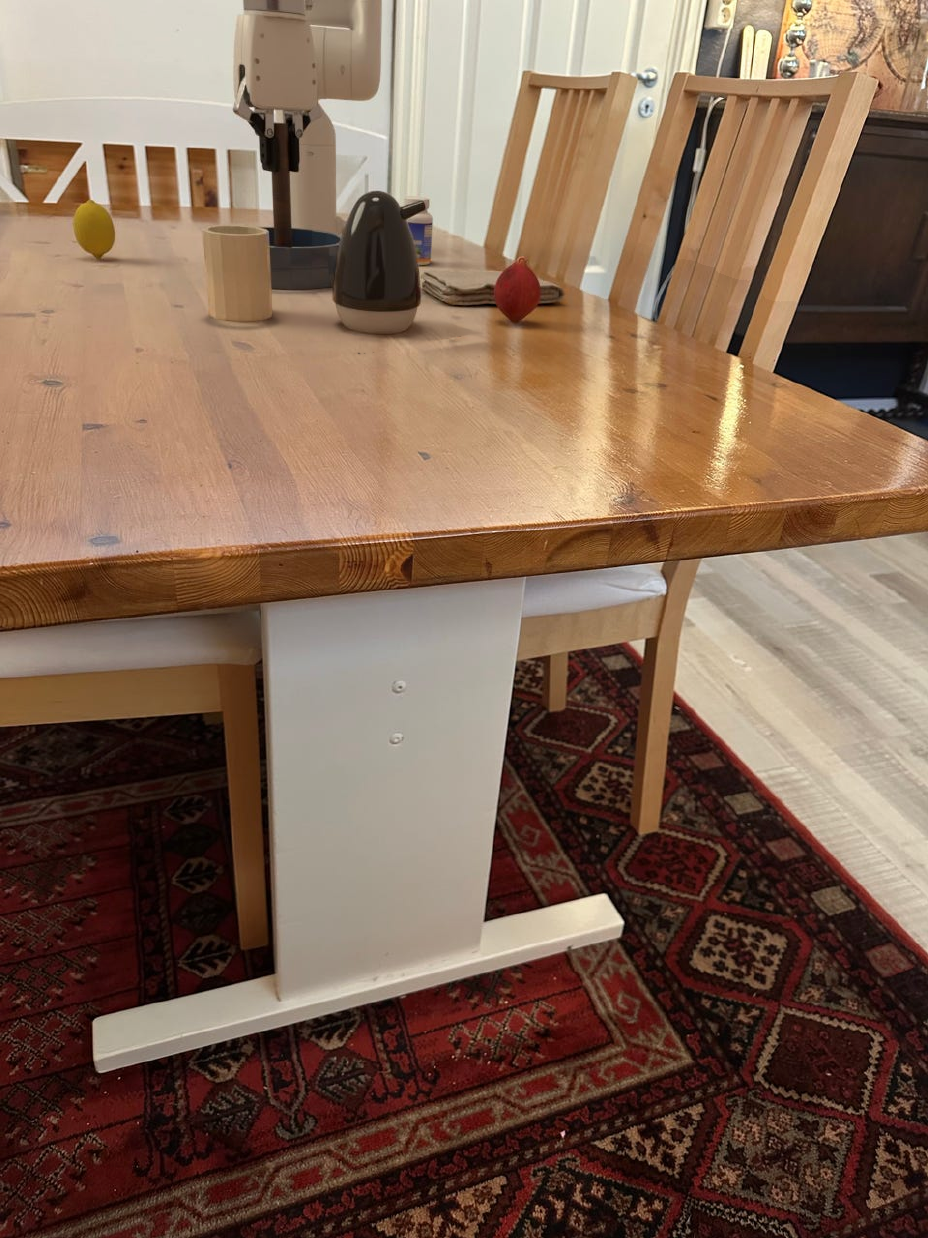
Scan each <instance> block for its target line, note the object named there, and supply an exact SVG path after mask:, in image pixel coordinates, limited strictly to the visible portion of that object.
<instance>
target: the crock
mask: <svg viewBox="0 0 928 1238" xmlns="http://www.w3.org/2000/svg"><path fill="white" fill-rule="evenodd" d="M259 227H260V226H252V225H242V224H241V225H240V224H215V225H209V226H205V227H203V228H202V229H201V231H202V233H201V234H202V245H203V255H204V256H203V258H204V270H205V283H206V295H207V307H208V314H209V316H210V317H211V318H214V319H217V320H220V321H227V322H237V323H238V322H239V323H247V322H248V323H249V322H260V321H265V320H268V319H270V318H272V316H273V293H272V289H271V269H270V246H269V231H268V230H266V229H263V228H259Z"/></svg>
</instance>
